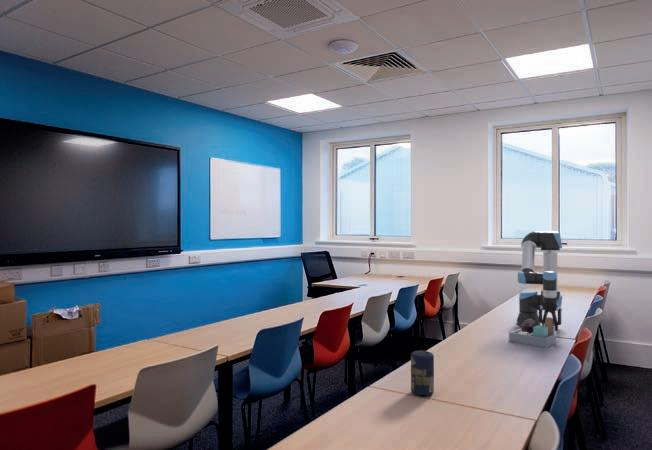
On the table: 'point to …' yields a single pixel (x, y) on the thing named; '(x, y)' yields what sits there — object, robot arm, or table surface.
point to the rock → (528, 326)
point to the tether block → (544, 329)
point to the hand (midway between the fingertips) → (549, 335)
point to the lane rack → (532, 339)
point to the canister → (422, 372)
